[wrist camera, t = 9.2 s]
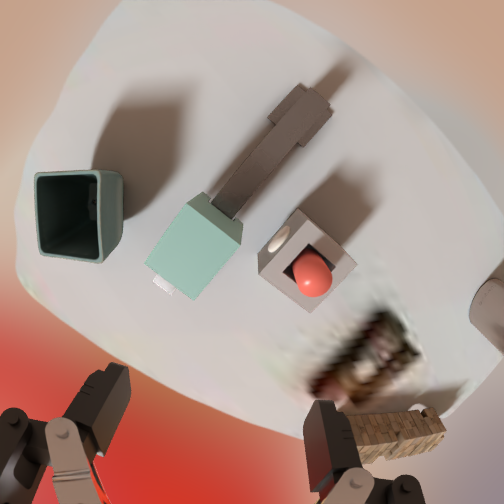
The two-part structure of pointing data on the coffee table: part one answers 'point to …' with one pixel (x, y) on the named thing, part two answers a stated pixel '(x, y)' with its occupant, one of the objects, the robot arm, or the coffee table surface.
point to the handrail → (270, 152)
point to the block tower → (396, 434)
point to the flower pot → (78, 213)
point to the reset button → (311, 273)
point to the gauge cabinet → (286, 250)
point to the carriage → (195, 246)
